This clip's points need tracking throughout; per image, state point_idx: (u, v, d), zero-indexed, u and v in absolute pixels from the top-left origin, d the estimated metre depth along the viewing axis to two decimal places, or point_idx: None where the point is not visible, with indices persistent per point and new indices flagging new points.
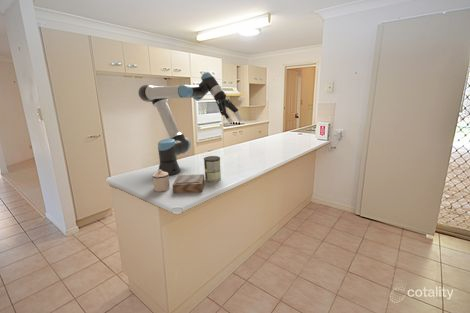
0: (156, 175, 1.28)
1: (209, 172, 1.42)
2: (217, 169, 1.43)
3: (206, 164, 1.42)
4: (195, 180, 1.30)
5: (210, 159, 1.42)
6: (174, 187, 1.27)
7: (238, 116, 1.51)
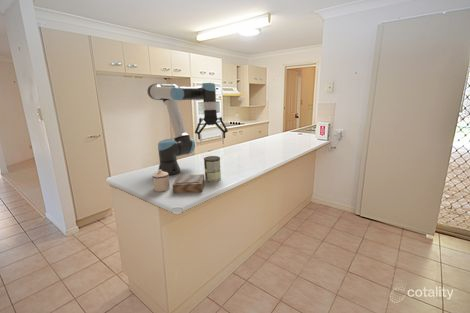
0: (156, 175, 1.28)
1: (209, 172, 1.42)
2: (217, 169, 1.43)
3: (206, 164, 1.42)
4: (195, 180, 1.30)
5: (210, 159, 1.42)
6: (174, 187, 1.27)
7: (222, 138, 1.43)
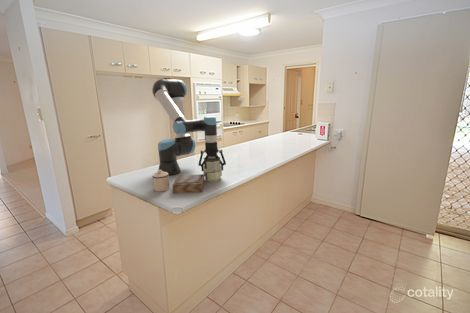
0: (156, 175, 1.28)
1: (209, 172, 1.42)
2: (217, 169, 1.43)
3: (206, 164, 1.42)
4: (195, 180, 1.30)
5: (210, 159, 1.42)
6: (174, 187, 1.27)
7: (220, 170, 1.47)
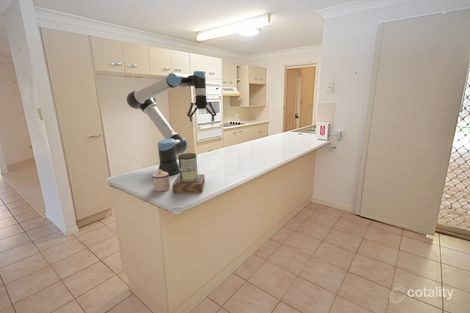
0: (156, 175, 1.28)
1: (184, 171, 1.28)
2: (193, 168, 1.29)
3: (180, 162, 1.28)
4: (195, 180, 1.30)
5: (185, 156, 1.28)
6: (174, 187, 1.27)
7: (211, 121, 1.61)
